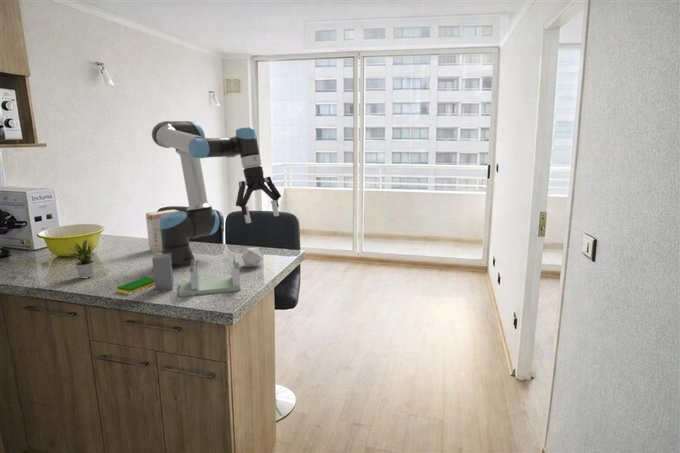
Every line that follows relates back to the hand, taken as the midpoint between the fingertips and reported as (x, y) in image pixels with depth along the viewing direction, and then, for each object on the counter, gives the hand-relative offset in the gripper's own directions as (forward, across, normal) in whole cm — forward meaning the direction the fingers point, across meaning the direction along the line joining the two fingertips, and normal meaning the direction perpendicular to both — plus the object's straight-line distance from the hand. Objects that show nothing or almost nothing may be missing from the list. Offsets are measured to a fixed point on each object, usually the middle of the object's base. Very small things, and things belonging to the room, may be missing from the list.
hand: (263, 219), depth 179 cm
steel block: (+19, -37, +20) cm, 46 cm away
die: (+21, +4, +21) cm, 30 cm away
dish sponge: (+18, -44, +29) cm, 55 cm away
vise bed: (+22, -24, +9) cm, 33 cm away
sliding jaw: (+19, -28, +11) cm, 36 cm away
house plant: (+11, -54, +59) cm, 80 cm away
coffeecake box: (+10, -10, +79) cm, 81 cm away
